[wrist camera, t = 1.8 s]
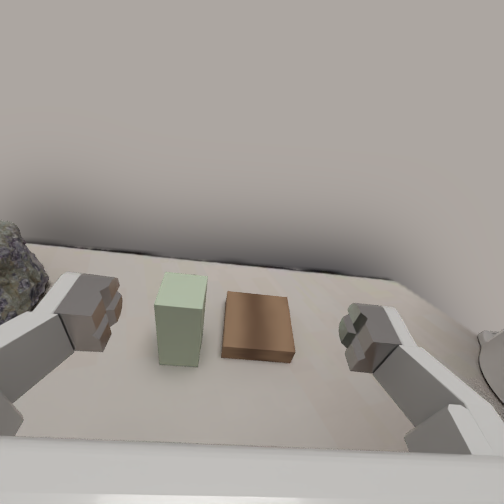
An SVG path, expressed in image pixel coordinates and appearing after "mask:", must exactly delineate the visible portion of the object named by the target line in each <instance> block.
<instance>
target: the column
mask: <svg viewBox="0 0 504 504" xmlns="http://www.w3.org/2000/svg"><path fill="white" fill-rule="evenodd" d="M207 279H208V276H199V275H190V274H180V273H171V272H165V275H164V278H163V280H162V283H161V286H160V289H159V292H158V295H157V298H156V300H155V303H154V310H155V321H156V331H157V342H158V353H159V364H160V365H173V366H187V367H198V362H199V355H200V349H201V342H202V335H203V324H204V313H205V302H206V291H207Z"/></svg>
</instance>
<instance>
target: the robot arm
mask: <svg viewBox="0 0 504 504" xmlns="http://www.w3.org/2000/svg"><path fill="white" fill-rule="evenodd" d="M119 286H120V285H119V281H118V278H115V277H107V276H99V275H92V274H82V273H75V272H65V273H64V274H62V275H61V276H60V277H59V279H58V280H57V281H56V283H55V284H54V285H53V286H52V288H51V289H50V290H49V291H48V293H47V294H46V295H45V296H44V298H43V299H42V300H41V301H40V303H39V304H38V305H37V306H36V308H35V309H34V310H33V311H32V312H29V311H26V312H25V313H23V314H21V315H19V316H17V317H15V318H13V319H11V320H9V321H7V322H5V323H4V324H2V325H0V504H504V422H503V421H502V419H501V418H500V416H499V415H498V413H497V412H496V410H495V409H494V407H493V406H492V405H491V404H490V403H488V402H487V401H486V400H485V399H483V398H482V397H481V396H480V395H479V394H477V393H476V392H475V391H474V390H473V389H471V388H470V387H469V386H468V385H467V384H465V383H464V382H463V381H462V380H461V379H459V378H458V377H457V376H456V375H455V374H453V373H452V372H451V371H450V370H449V369H447V368H446V367H445V366H444V365H443V364H441V363H440V362H439V361H438V360H436V359H435V358H434V357H433V356H432V355H430V354H429V353H428V352H427V351H426V350H424V349H423V348H422V347H417V345H416V343H415V341H414V339H413V338H412V336H411V334H410V332H409V331H408V329H407V327H406V325H405V323H404V322H403V320H402V318H401V316H400V314H399V313H398V311H397V310H396V309H395V308H394V307H388V306H378V305H369V304H359V303H353V304H351V305H350V306H349V308H348V312H349V314H348V315H346V316H344V317H343V318H342V320H341V322H340V325H339V337H340V340H341V343H342V344H343V345H344V346H345V347H346V348H347V349H346V352H345V356H346V359H347V363H348V366H349V369H350V371H354V372H364V373H373V376H374V377H375V378H376V380H377V381H378V382H379V383H380V384H381V386H382V387H383V388H384V389H385V391H386V392H387V393H388V394H389V395H390V397H391V398H392V399H393V400H394V402H395V403H396V404H397V405H398V406H399V408H400V409H401V410H402V411H403V413H404V414H405V415H406V416H407V417H408V419H409V420H410V421H411V422H412V424H413V425H414V426H415V428H414V429H412V430H411V431H409V432H408V433H406V435H405V437H404V439H405V442H406V444H407V447H408V449H409V452H395V451H371V450H346V449H322V448H297V447H273V446H248V445H224V444H199V443H175V442H150V441H125V440H101V439H76V438H51V437H26V436H15V435H16V433H17V431H18V429H19V428H20V426H21V424H22V422H23V421H24V419H23V416H22V414H21V413H20V412H19V411H18V410H17V409H16V407H15V406H14V405H13V404H12V403H14V402H15V401H16V400H17V399H18V398H20V397H21V396H22V395H23V394H25V393H26V392H27V391H28V390H29V389H31V388H32V387H33V386H34V385H35V384H37V383H38V382H39V381H40V380H41V379H43V378H44V377H45V376H46V375H47V374H49V373H50V372H51V371H52V370H53V369H55V368H56V367H57V366H58V365H60V364H61V363H62V362H63V361H64V360H66V359H67V358H68V357H69V356H70V355H72V354H73V353H74V351H91V352H103V351H104V349H105V347H106V345H107V342H108V340H109V338H110V336H111V330H110V327H111V326H112V325H114V324H115V323H117V321H118V319H119V316H120V313H121V309H122V295H121V294H120V293H119V292H118V291H117V290H118V288H119ZM478 339H479V342H480V344H481V352H480V356H479V362H480V367H481V370H482V372H483V375H484V377H485V378H486V380H487V382H488V384H489V385H490V387H491V388H492V389H493V391H494V392H495V393H496V395H497V396H498V397H499V398H500V400H501V401H502V402H503V403H504V329H503V330H502V331H500V332H492V331H483V332H481V333H479V334H478Z"/></svg>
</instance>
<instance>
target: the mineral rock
mask: <svg viewBox="0 0 504 504" xmlns="http://www.w3.org/2000/svg"><path fill="white" fill-rule="evenodd" d="M25 244H26V242H25V240H24V239H23V238H22V237H21V235H20V230H19V228H18V227H17V226H16V225H15V224H14V223H12V222H8V221H0V325H2V324H4V323H5V322H7V321H9V320H11V319H13V318H15V317H17V316H19V315H21V314H23V313H25V312H26V311H29V312H30V311H31V309H32V307H33V306H34V305H35V304H36V303H37V301H38V300H39V299H38V297H39V296H40V294H42V293H43V292H44V291H45V284H46V283H47V282H48V280H49V277H48V275H47V274H45V270H44V269H43V268H44V267H43V265H42V264H41V263H40V262H39V261H38V259H37V258H36V257H35V254H34V253H31V252H30V250H29V249H28V248H27V246H26V245H25Z"/></svg>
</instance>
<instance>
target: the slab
mask: <svg viewBox="0 0 504 504" xmlns="http://www.w3.org/2000/svg"><path fill="white" fill-rule="evenodd" d="M294 354H295V346H294V340H293V333H292V326H291V320H290V313H289V306H288V300H287V297H279V296H269V295H260V294H250V293H240V292H231V291H228V292H227V298H226V306H225V318H224V330H223V342H222V354H221V358H232V359H245V360H258V361H271V362H284V363H290V362H291V360H292V358H293V356H294Z"/></svg>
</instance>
